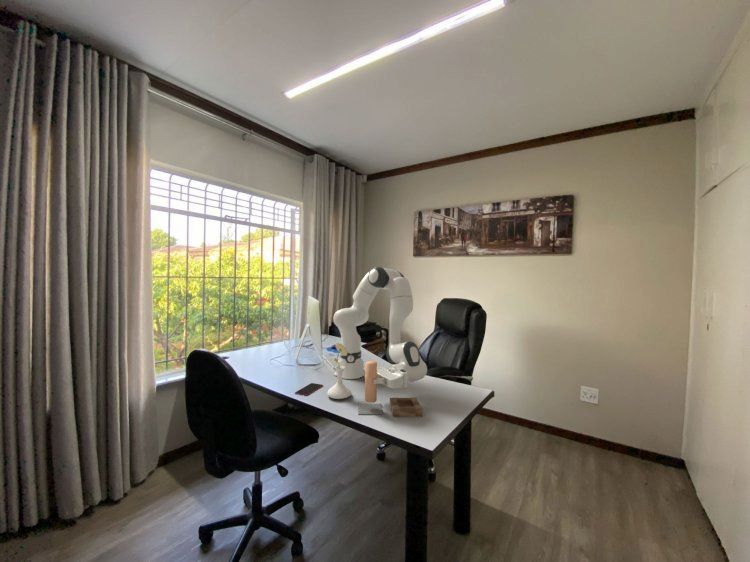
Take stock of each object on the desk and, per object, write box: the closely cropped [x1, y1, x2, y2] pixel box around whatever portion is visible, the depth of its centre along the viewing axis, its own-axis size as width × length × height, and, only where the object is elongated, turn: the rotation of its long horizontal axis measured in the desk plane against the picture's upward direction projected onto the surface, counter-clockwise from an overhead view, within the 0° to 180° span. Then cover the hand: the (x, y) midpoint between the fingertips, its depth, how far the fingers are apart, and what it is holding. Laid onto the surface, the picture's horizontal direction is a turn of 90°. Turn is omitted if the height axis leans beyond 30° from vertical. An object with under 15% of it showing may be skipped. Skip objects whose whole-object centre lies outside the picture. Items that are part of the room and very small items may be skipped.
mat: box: [357, 403, 384, 416], centre depth 128 cm, size 10×10×1 cm
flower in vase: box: [326, 341, 352, 400], centre depth 142 cm, size 13×11×25 cm
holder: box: [389, 397, 423, 418], centre depth 128 cm, size 12×12×3 cm
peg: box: [364, 360, 378, 404], centre depth 128 cm, size 5×5×16 cm
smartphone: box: [294, 382, 324, 397], centre depth 149 cm, size 7×1×15 cm
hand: (369, 379), depth 128 cm, fingers closed on peg, 5 cm apart
